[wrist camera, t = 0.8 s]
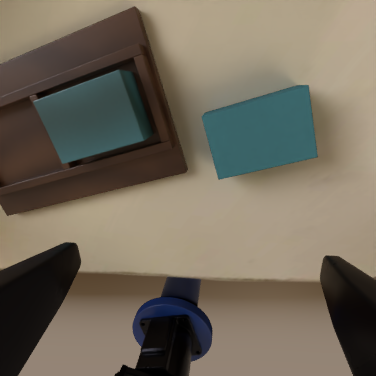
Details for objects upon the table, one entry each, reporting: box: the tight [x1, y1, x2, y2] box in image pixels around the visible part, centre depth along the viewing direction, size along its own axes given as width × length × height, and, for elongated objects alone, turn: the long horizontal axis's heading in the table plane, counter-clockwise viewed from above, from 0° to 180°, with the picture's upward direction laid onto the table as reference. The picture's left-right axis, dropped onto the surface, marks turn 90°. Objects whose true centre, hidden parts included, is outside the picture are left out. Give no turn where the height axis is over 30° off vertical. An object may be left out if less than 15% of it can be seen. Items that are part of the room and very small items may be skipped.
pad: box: [202, 85, 318, 179], centre depth 21 cm, size 6×8×3 cm
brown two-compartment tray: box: [0, 7, 188, 216], centre depth 24 cm, size 14×22×4 cm, turn 107°
